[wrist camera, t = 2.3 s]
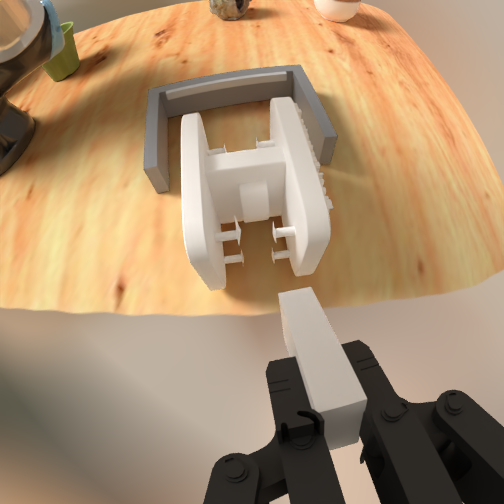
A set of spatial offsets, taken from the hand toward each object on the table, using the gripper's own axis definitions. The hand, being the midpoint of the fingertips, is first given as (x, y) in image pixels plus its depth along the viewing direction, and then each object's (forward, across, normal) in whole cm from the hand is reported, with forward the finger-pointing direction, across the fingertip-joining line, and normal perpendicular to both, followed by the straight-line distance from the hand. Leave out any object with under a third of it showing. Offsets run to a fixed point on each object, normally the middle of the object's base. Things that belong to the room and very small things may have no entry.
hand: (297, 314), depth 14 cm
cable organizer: (+20, 0, -2) cm, 20 cm away
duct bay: (+28, 0, +7) cm, 29 cm away
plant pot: (+53, -34, +32) cm, 71 cm away
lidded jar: (+55, +28, +34) cm, 70 cm away
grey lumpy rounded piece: (+57, +5, +36) cm, 68 cm away
